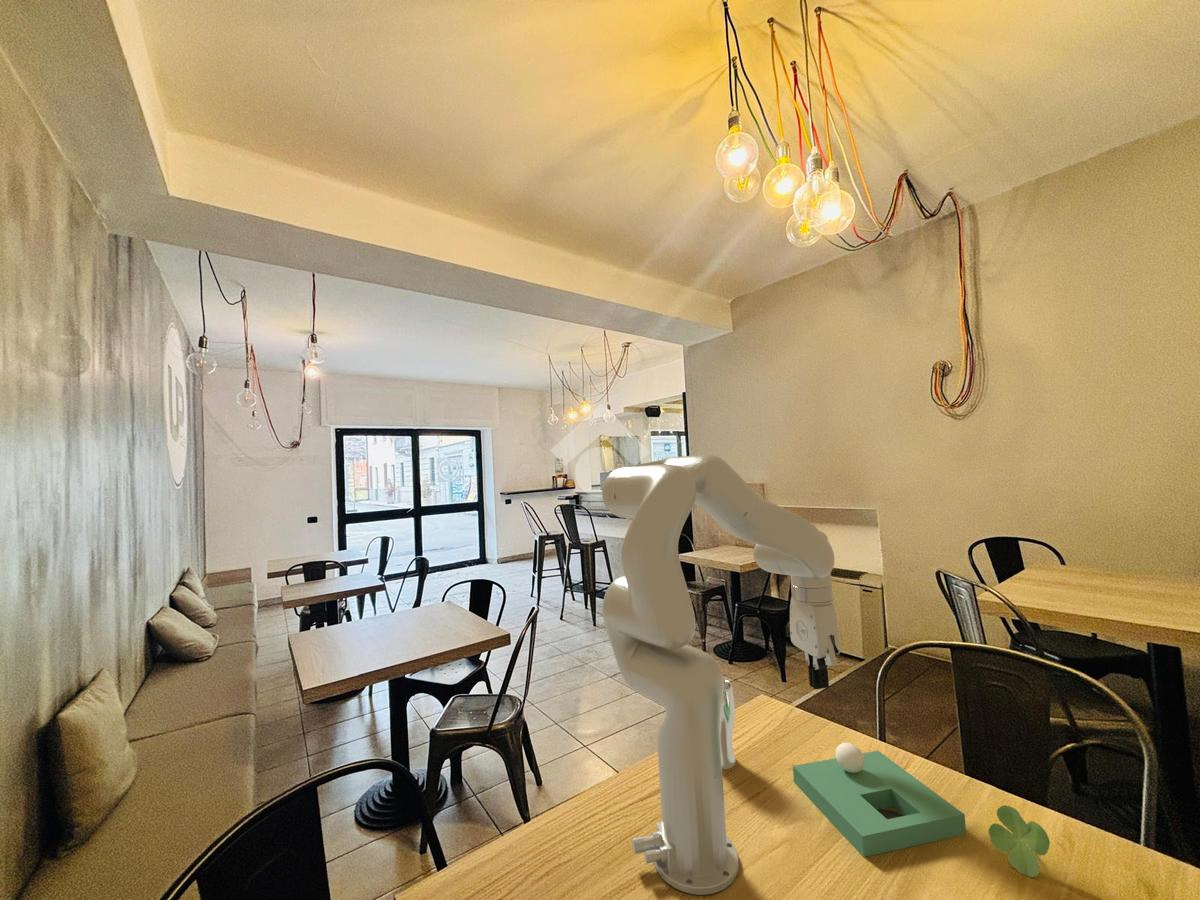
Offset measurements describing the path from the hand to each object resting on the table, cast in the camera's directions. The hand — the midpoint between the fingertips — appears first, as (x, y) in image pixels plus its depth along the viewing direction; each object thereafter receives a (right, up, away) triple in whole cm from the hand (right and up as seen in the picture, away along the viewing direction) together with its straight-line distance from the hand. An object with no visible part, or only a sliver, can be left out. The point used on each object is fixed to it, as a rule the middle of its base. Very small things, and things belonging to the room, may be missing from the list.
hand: (819, 686), depth 96 cm
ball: (+2, -9, -8) cm, 12 cm away
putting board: (+3, -14, -14) cm, 19 cm away
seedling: (+21, -13, -24) cm, 34 cm away
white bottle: (-19, -16, +1) cm, 25 cm away
